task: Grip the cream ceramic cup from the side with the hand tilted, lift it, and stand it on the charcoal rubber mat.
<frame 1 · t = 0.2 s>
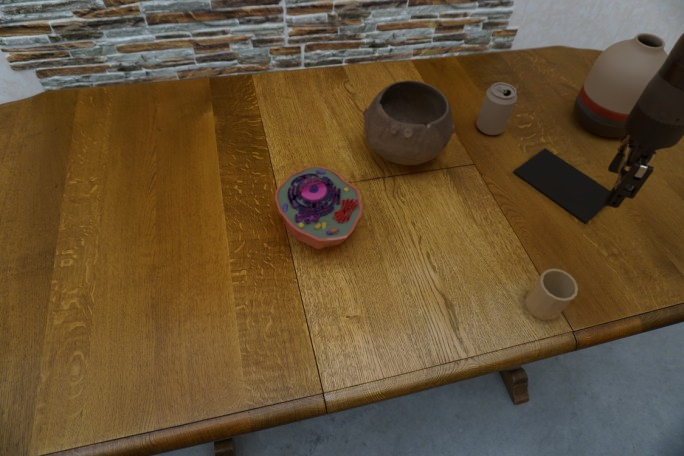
hand: (612, 187, 76), 24 cm above the table, tool pointing down, fingers open, 8 cm apart
clay pot: (403, 150, 115), on the table
mat: (563, 184, 109), on the table
cell model: (320, 226, 100), on the table
can: (489, 128, 121), on the table
cup: (542, 305, 90), on the table
vase: (600, 122, 124), on the table
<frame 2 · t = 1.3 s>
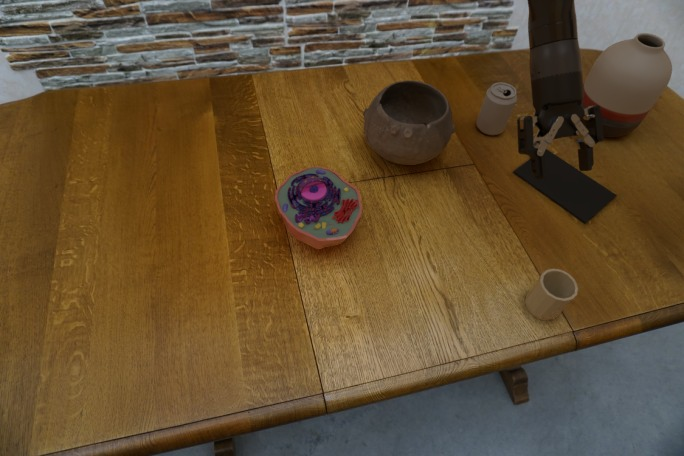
hand: (563, 174, 76), 25 cm above the table, tool tilted 45°, fingers open, 8 cm apart
nothing on the table moved.
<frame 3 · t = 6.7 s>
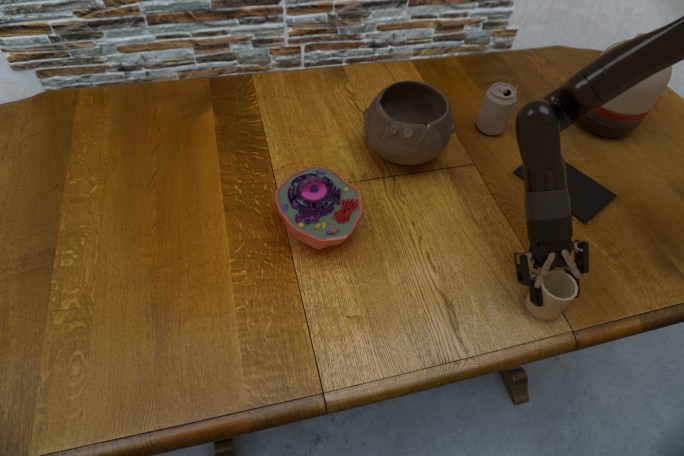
hand: (555, 301, 85), 4 cm above the table, tool tilted 45°, fingers closed on cup, 7 cm apart
cup: (542, 305, 90), on the table, touching gripper
everything else where it was.
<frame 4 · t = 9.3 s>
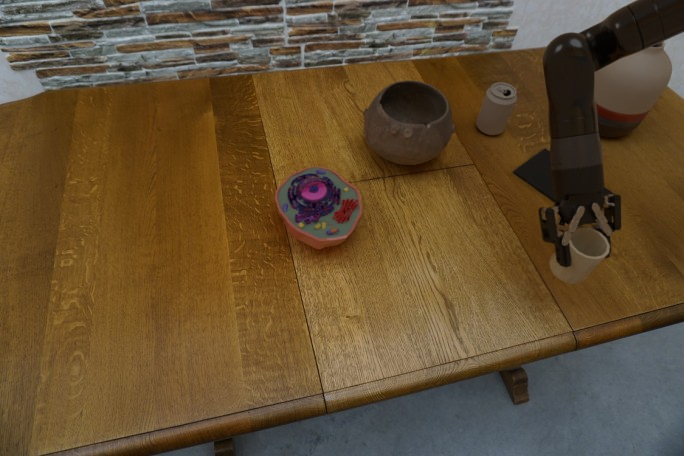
hand: (584, 261, 77), 15 cm above the table, tool tilted 45°, fingers closed on cup, 7 cm apart
cup: (568, 268, 82), point 11 cm above the table, touching gripper
everything else where it was.
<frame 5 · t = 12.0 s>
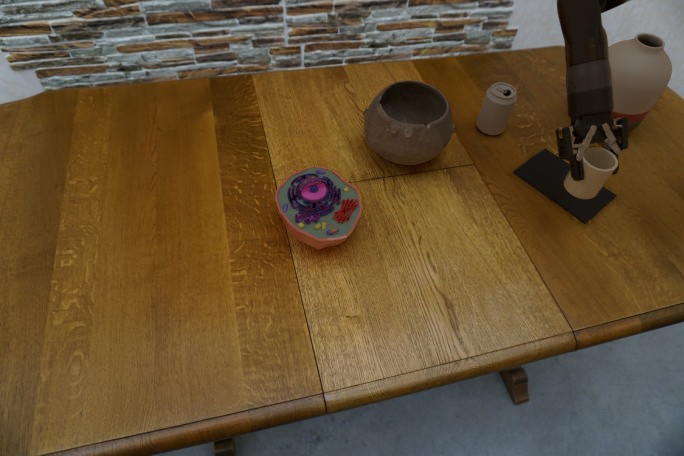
hand: (595, 177, 88), 16 cm above the table, tool tilted 45°, fingers closed on cup, 7 cm apart
cup: (580, 186, 93), point 12 cm above the table, touching gripper
everything else where it was.
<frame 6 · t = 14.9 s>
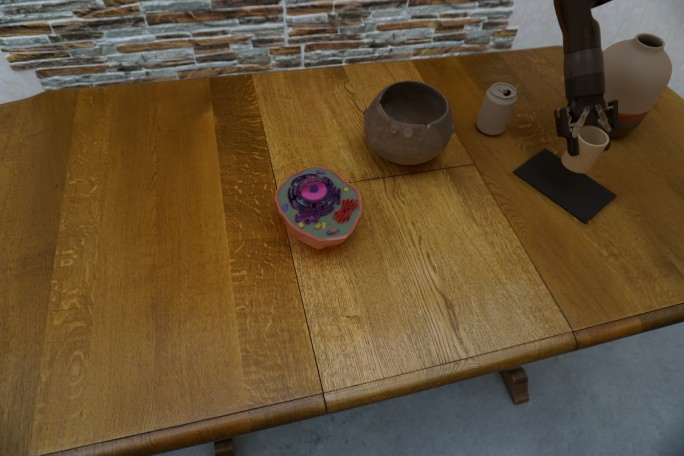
hand: (589, 153, 99), 12 cm above the table, tool tilted 45°, fingers closed on cup, 7 cm apart
cup: (576, 162, 104), point 7 cm above the table, touching gripper
everything else where it was.
when the fingers open (5 cm above the table, at t = 17.4 s): cup stays where it is, resting on mat.
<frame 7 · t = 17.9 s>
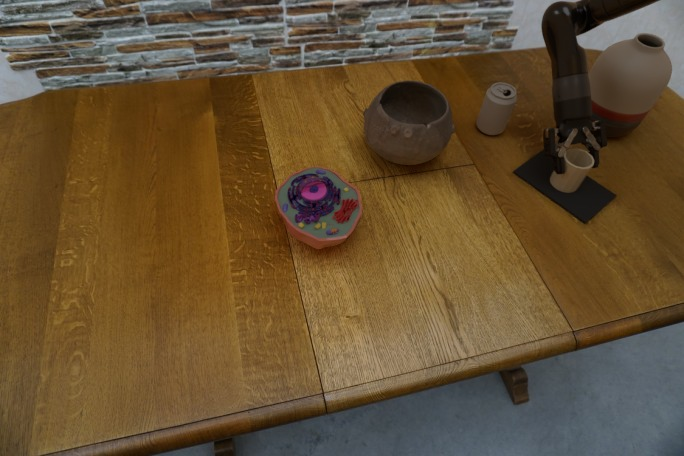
hand: (577, 171, 104), 6 cm above the table, tool tilted 45°, fingers open, 8 cm apart
cup: (563, 182, 109), point 1 cm above the table, touching mat
everything else where it was.
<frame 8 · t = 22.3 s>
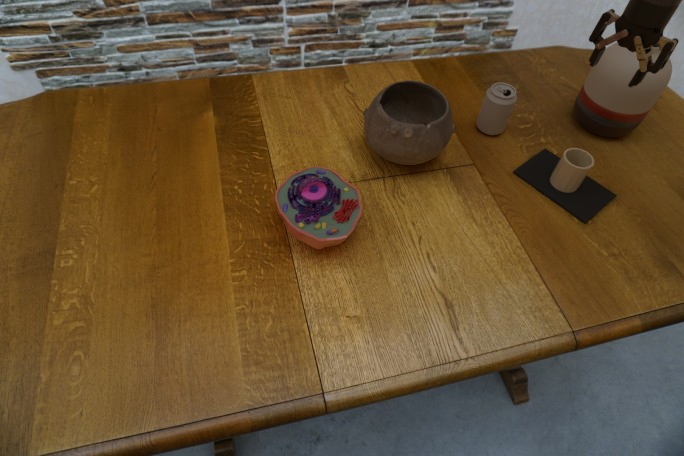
hand: (612, 75, 92), 26 cm above the table, tool pointing down, fingers open, 8 cm apart
nothing on the table moved.
at the end: cup inside the target area on the mat (0.1 cm from its centre), point 0.6 cm above the mat's base; cup tilted 0°; the gripper is holding nothing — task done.
